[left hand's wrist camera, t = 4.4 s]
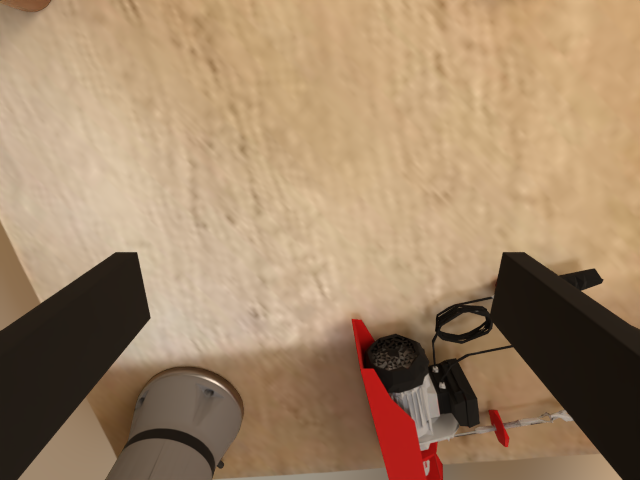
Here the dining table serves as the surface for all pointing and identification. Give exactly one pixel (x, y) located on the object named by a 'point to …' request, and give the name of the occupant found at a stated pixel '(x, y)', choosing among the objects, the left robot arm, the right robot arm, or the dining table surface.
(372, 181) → the dining table surface
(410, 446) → the electric hoist
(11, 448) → the left robot arm
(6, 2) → the bottle
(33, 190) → the dining table surface
